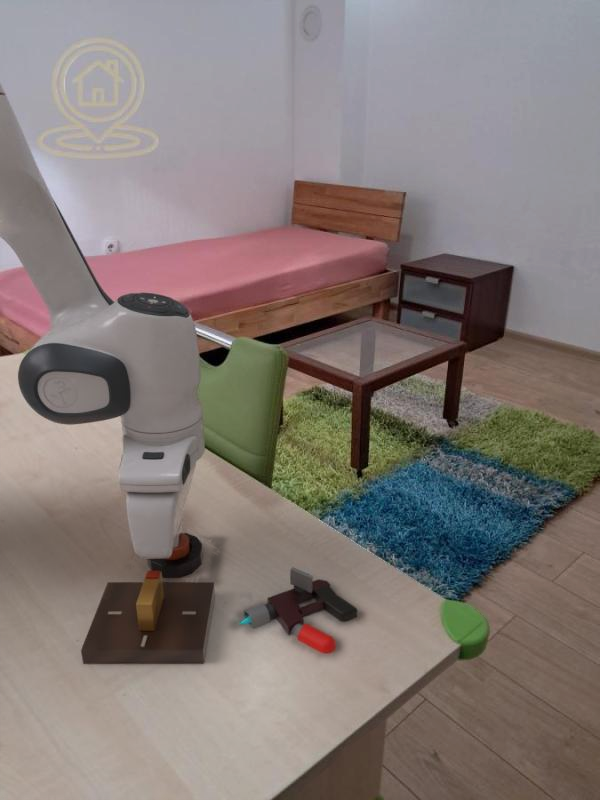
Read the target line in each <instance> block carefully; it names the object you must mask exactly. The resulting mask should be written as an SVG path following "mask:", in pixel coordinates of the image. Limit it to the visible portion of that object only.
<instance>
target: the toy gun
mask: <svg viewBox="0 0 600 800" xmlns="http://www.w3.org/2000/svg"><path fill="white" fill-rule="evenodd" d="M289 572H290V573H289V577H290V578H289V581H290V582H289V584H290V585H292V586H293V588H291V589H289V590H286V591H283V592H280V593H277V594H274V595H272V596H269V597H266V598H267V602H266V603H263V602H262V603H261V602H260V603H259V604H256V605H254V606H251V607H248V608H245V609H243V615H244V616H246V615H248V616H246V618H244V619H243V620H242V621H241V622H239V623H238V625H246V624H251V628H252V629H256V628H258V627H261V626H264V625H266V624H269V623H271V621H273V620H275V619H276V620H277V621H278V623H279V624H280V626H281V627H282V628H283V630H284V631H285V632H286V634H287V635H288V636H289V635H293V636H295V637H297V641H299V642H301V643H303V644H305V645H307V646H308V647H310V648H312V649H314V650H315V651H317V652H319V653H321V654H325V655H326V654H331V653H333V652H334V651H335V650H336V647H337V642H336V640H335V638H334V637H333V636H331V635H330V634H327V633H326V632H324V631H322V630H320V629H318V628H316V627H314V626H312V625H310V624H308V623H305V624H304V618H306V617H308V616H311V615H313V614H315V613H318V612H321V611H323V610H324V611H326V612H327V613H329V614H330V615H331V616H333V617H334V618H335V619H337V620H338V621H340V622H341V623H345V622H348V621H350V620H353V619H356V618H357V617H358V609H357V607H355V606H354V605H353V604H351V603H350V602H348V601H347V600H345V599H344V598H343V597H341V596H339V595H338V594H337V593H336V592H335V591H334V589H333V588H332V587H331V584H330V583H329V582H328V581H327V580H325V579H320V578H319V579H316V580H314V576H313V575H312V574H310V573H308V572H306V571H303V570H301V569H298V568H296V567H294V566H291V568H290V570H289ZM313 599H314V600H315V601H313V602H311V603H308V604H306V605H303V606H300V604H302V603H303V604H304V603H305V602H307V601H310V600H313Z"/></svg>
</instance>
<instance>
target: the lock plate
mask: <svg viewBox="0 0 600 800" xmlns="http://www.w3.org/2000/svg"><path fill="white" fill-rule="evenodd" d="M143 582H144V581H124V582H123V581H108V582H107V583H106V586H105V588H104V590H103V594H102V596H101V599H100V601H99V604H98V607H97V609H96V611H95V614H94V617H93V619H92V621H91V624H90V626H89V628H88V631H87V634H86V637H85V639H84V641H83V644H82V647H81V649H80V653H81V659H82V664H83V665H204V664H205V660H206V654H207V648H208V641H209V635H210V629H211V622H212V617H213V611H214V610H213V609H214V603H215V597H216V589H215V588H216V586H215V582H214V581H211V582H210V581H209V582H208V581H206V582H205V581H204V582H202V581H199V582H198V581H186V582H185V581H182V582H181V581H168V582H167V581H162V582H163V592H164V599H163V602H162V606H161V610H160V613H159V617H158V621H157V624H156V628H155V631H139V624H138V616H137V608H136V603H137V600H138V597H139V594H140V591H141V588H142V585H143Z"/></svg>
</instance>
